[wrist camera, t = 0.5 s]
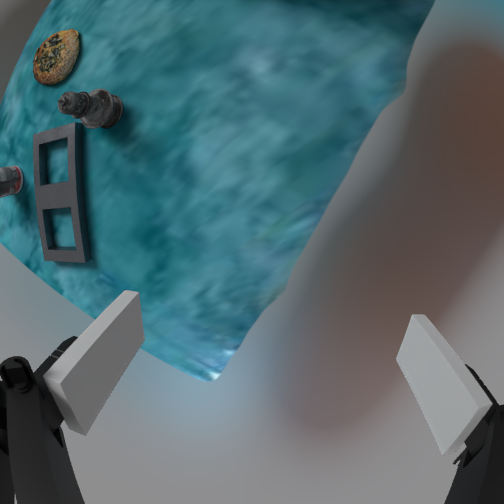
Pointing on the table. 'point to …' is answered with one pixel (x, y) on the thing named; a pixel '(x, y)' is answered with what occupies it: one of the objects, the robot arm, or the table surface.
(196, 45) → the table surface
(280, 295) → the table surface
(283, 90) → the table surface
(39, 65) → the bread roll
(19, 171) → the pill bottle
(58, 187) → the grey rectangular frame
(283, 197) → the table surface
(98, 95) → the grey chess piece
